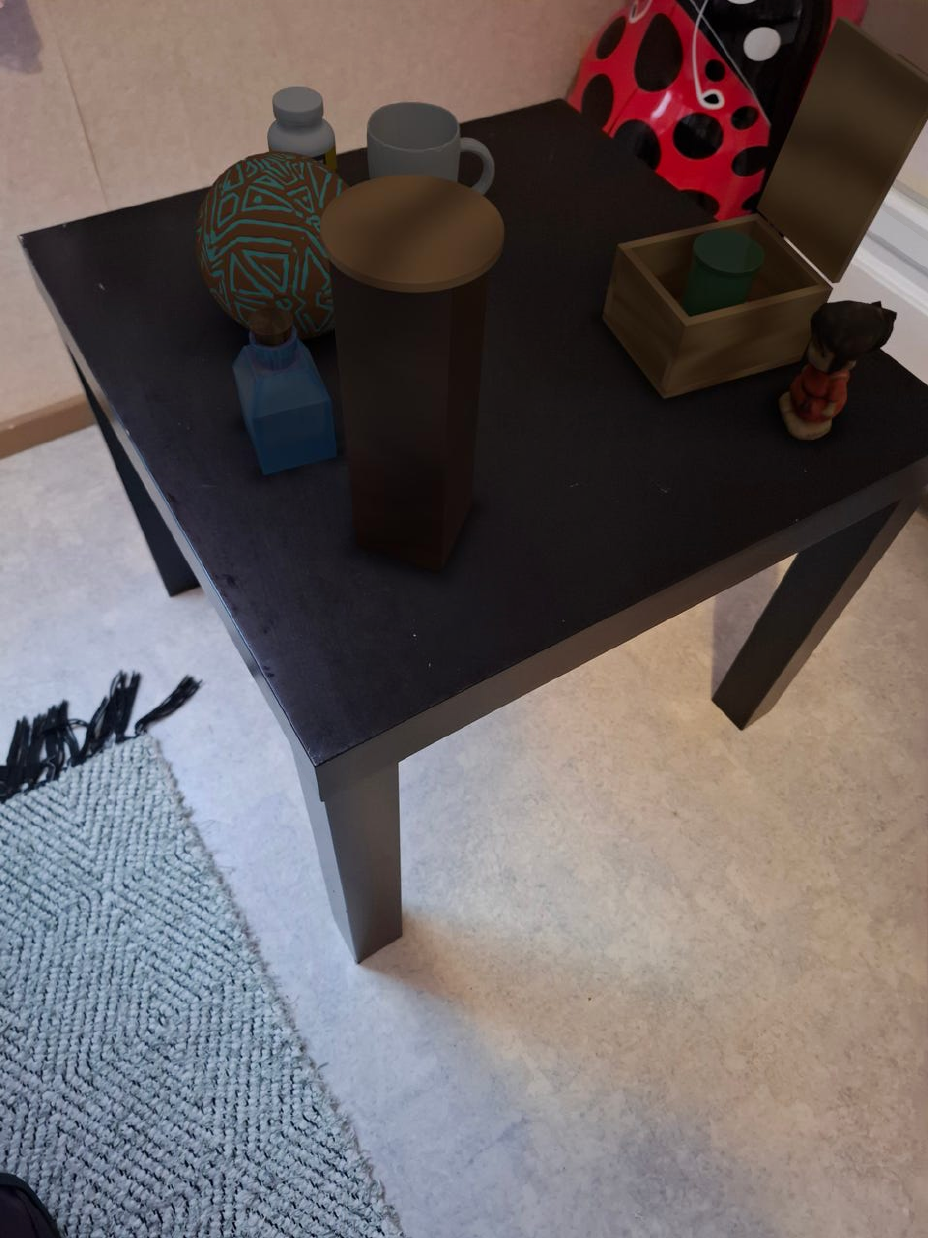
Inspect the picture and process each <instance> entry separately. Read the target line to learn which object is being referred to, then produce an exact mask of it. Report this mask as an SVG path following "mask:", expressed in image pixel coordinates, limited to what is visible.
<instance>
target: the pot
mask: <svg viewBox="0 0 928 1238" xmlns="http://www.w3.org/2000/svg"><path fill="white" fill-rule="evenodd" d="M692 255H693V258H692V262H691V265H690V269H689V272H688V275H687V279H686V282H685V286H684V289H683V293H682V296H681V299H680V303H679V305H680V307H681V308H682V309H683V310H684V311H685V312H686V314H687V315H688V316H689V317H693V316H696V315H700V314H704V313H708V312H712V311H716V310H720V309H724V308H728V307H732V306H736V305H740V304H744V303H745V302H746V300H747V297H748V294H749V291H750V289H751V286H752V283H753V280H754V278H755V275H756V272H758V271H759V270H760V268H761V267H762V264H763V262H764V258H765V254H764V250H763V248H762V247H761V246H760V244H759V243H758V242H756V241H755V240H754V239H752V238H751V237H749V236H747V235H745V234H742V233H740V232H736V231H731V230H712V231H708V232H705V233H703V234H701V235H699V236H698V237H697V238H696V240H695V242H694V244H693V248H692Z"/></svg>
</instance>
